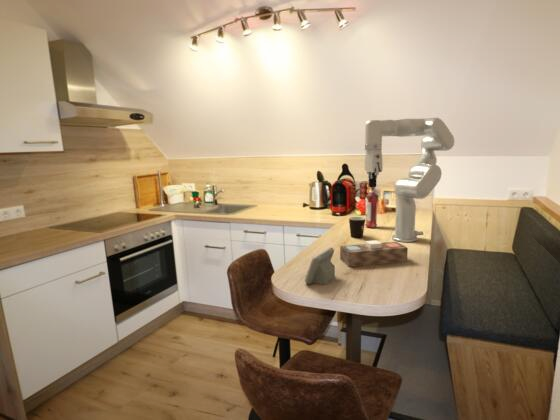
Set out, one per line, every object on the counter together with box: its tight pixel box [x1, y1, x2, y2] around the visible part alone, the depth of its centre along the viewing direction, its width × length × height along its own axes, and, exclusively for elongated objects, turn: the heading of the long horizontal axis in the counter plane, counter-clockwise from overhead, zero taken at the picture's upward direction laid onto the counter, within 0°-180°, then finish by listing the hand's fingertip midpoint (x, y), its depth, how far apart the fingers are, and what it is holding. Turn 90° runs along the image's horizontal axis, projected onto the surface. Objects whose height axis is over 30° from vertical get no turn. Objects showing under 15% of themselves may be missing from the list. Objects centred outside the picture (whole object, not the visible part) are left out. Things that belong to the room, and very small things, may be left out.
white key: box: [365, 239, 383, 249], centre depth 153 cm, size 5×5×4 cm
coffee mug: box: [348, 216, 366, 239], centre depth 194 cm, size 12×9×10 cm
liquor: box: [364, 187, 379, 229], centre depth 212 cm, size 7×7×28 cm
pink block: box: [385, 243, 401, 248], centre depth 155 cm, size 5×5×4 cm
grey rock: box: [304, 247, 336, 285], centre depth 134 cm, size 16×9×11 cm, turn 138°
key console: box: [339, 241, 409, 267], centre depth 154 cm, size 26×10×6 cm, turn 100°
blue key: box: [346, 246, 361, 251], centre depth 152 cm, size 5×5×4 cm
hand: (372, 186), depth 170 cm, fingers closed
